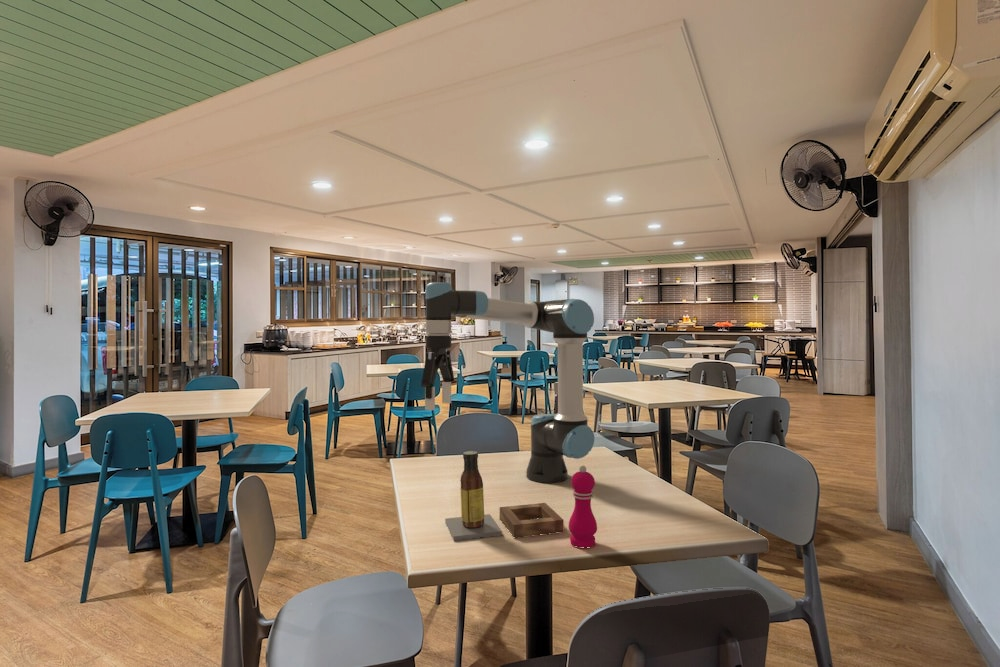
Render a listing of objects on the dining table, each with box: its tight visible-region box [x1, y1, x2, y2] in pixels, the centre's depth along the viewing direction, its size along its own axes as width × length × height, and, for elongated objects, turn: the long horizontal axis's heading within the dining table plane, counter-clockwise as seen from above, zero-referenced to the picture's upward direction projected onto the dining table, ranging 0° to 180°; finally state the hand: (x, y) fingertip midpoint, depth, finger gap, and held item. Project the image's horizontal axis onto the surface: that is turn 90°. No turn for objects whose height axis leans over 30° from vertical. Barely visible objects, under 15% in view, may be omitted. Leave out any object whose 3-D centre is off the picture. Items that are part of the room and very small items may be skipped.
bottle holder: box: [499, 502, 565, 538], centre depth 146 cm, size 14×14×4 cm
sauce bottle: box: [460, 450, 485, 528], centre depth 144 cm, size 7×6×20 cm
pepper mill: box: [568, 465, 598, 548], centre depth 134 cm, size 7×7×20 cm
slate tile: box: [444, 513, 503, 541], centre depth 144 cm, size 13×13×1 cm
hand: (438, 406), depth 156 cm, fingers open, 13 cm apart
